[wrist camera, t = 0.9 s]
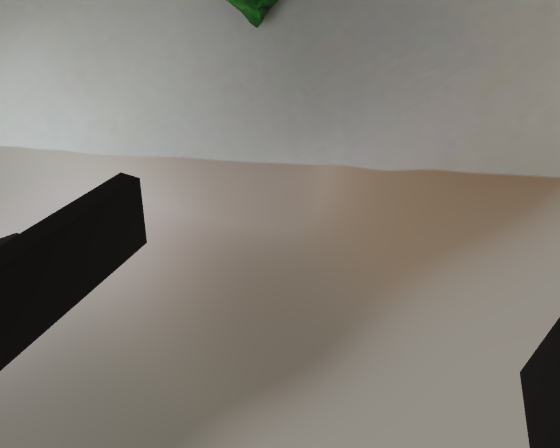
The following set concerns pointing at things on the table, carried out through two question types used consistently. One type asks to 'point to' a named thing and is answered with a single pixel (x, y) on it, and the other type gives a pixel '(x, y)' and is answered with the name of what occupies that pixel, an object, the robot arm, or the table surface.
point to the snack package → (253, 9)
